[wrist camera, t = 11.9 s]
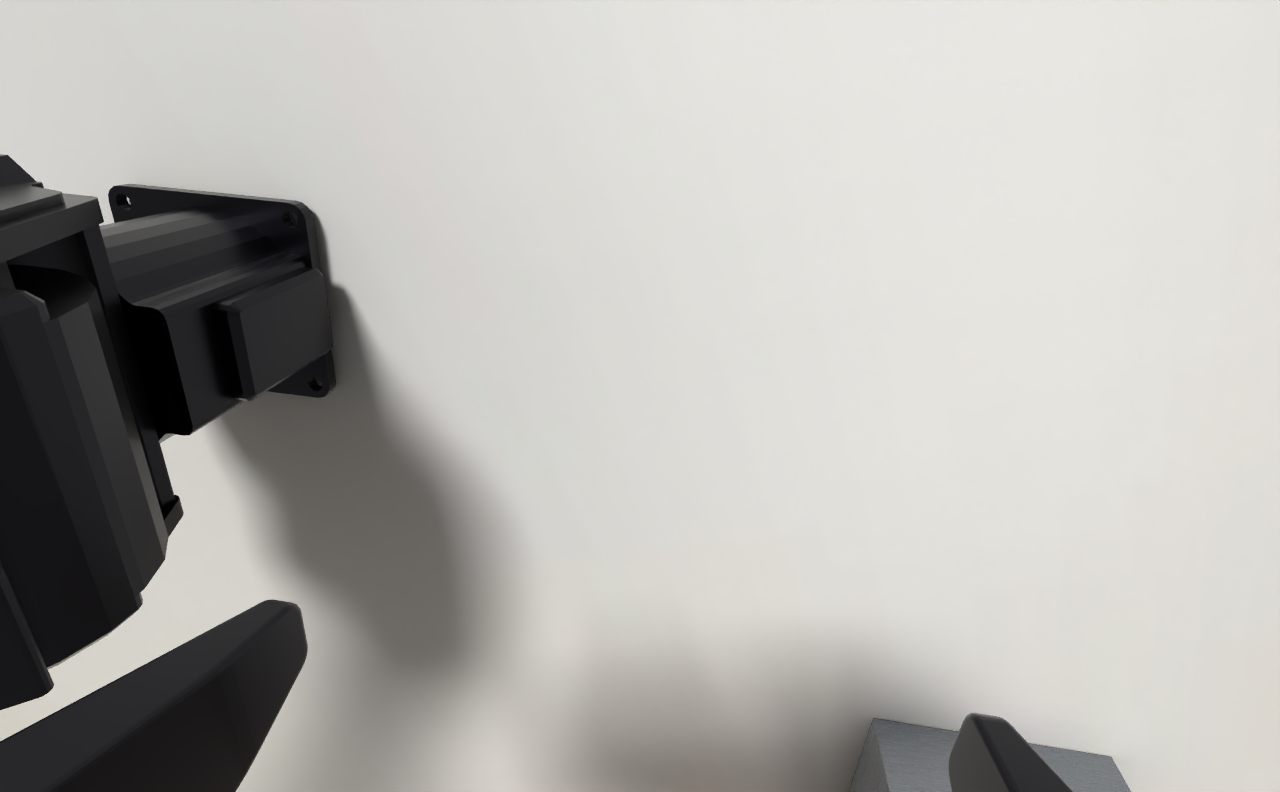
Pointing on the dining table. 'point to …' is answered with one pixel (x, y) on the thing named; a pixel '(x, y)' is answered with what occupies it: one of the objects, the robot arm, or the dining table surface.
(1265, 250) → the dining table surface
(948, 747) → the socket
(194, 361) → the robot arm
